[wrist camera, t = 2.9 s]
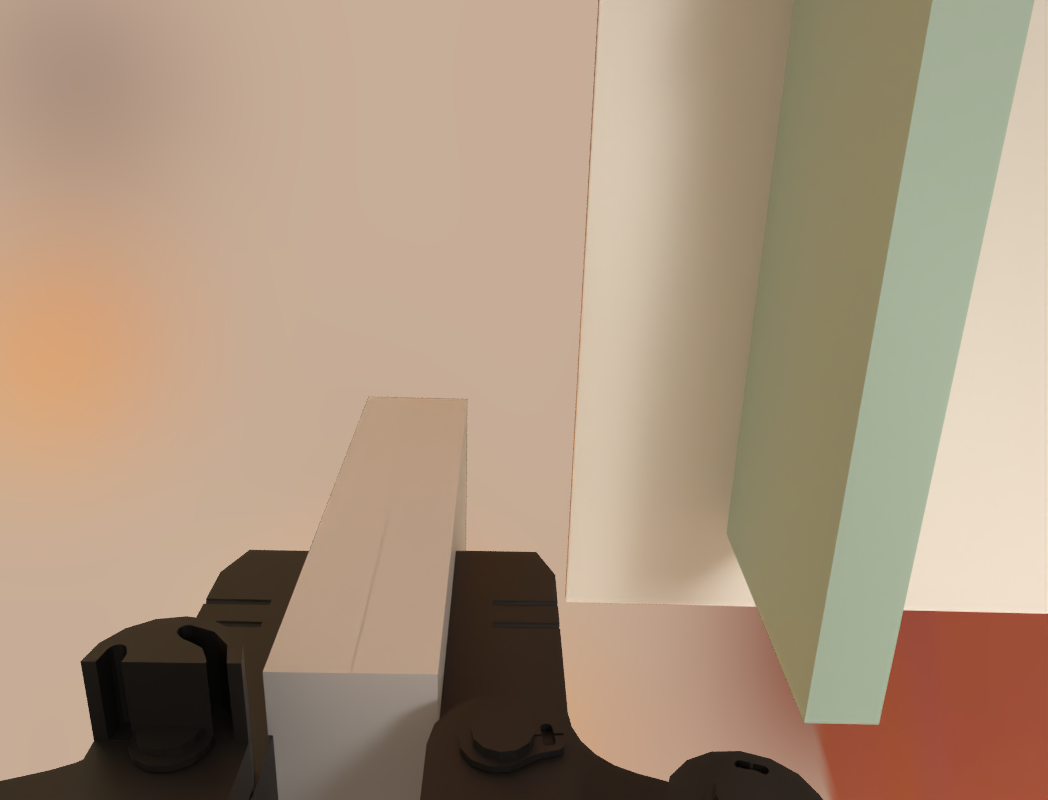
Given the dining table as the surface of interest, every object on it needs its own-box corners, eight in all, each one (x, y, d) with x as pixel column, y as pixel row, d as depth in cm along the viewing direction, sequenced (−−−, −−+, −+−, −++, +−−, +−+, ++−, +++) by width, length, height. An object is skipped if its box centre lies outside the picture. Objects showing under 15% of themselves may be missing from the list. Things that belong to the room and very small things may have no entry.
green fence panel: (873, -76, 16) (1063, -132, 10) (780, 535, 20) (879, 724, 15) (803, -78, 16) (956, -136, 10) (726, 533, 20) (803, 723, 15)
